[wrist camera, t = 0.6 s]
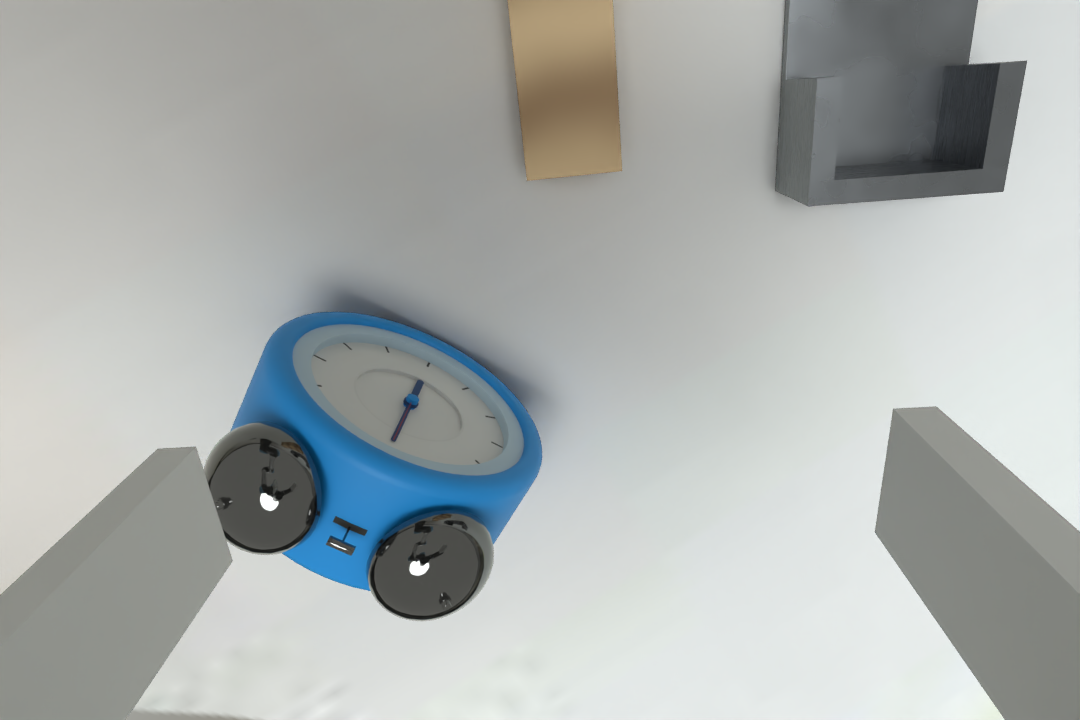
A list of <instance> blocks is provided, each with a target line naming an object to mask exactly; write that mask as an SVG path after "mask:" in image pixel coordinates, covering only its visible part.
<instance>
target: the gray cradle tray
mask: <svg viewBox="0 0 1080 720" xmlns="http://www.w3.org/2000/svg"><path fill="white" fill-rule="evenodd" d="M977 3H978V0H786V2H785V21H784V39H783V58H782V77H781V95H780V114H779V132H778V151H777V169H776V188H775V191H777V192H779V193H781V194H783V195H786V196H788V197H790V198H792V199H794V200H796V201H798V202H800V203H802V204H804V205H807V206H818V205H831V204H845V203H858V202H871V201H885V200H898V199H912V198H925V197H939V196H952V195H966V194H979V193H993V192H1003V191H1004V185H1005V180H1006V174H1007V169H1008V163H1009V158H1010V152H1011V147H1012V141H1013V136H1014V130H1015V125H1016V119H1017V114H1018V108H1019V103H1020V97H1021V91H1022V86H1023V80H1024V75H1025V69H1026V64H1027V61H1014V62H997V63H980V64H968V63H969V56H970V50H971V43H972V37H973V30H974V23H975V17H976V10H977Z"/></svg>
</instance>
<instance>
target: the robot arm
mask: <svg viewBox="0 0 1080 720" xmlns="http://www.w3.org/2000/svg"><path fill="white" fill-rule="evenodd" d="M875 533H876V535H877V536H878V538H879V539H880V540H881V542H882V543H883V545H884V546H885V548H886V549H887V550H888V552H889V553H890V555H891V556H892V558H893V559H894V561H895V562H896V563H897V565H898V566H899V568H900V569H901V571H902V572H903V574H904V575H905V576H906V578H907V579H908V581H909V582H910V584H911V585H912V586H913V588H914V589H915V591H916V592H917V594H918V595H919V597H920V598H921V599H922V601H923V602H924V604H925V605H926V607H927V608H928V610H929V611H930V612H931V614H932V615H933V617H934V618H935V620H936V621H937V623H938V624H939V625H940V627H941V628H942V630H943V631H944V633H945V634H946V635H947V637H948V638H949V640H950V641H951V643H952V644H953V646H954V647H955V648H956V650H957V651H958V653H959V654H960V656H961V657H962V659H963V660H964V661H965V663H966V664H967V666H968V667H969V669H970V670H971V671H972V673H973V674H974V676H975V677H976V679H977V680H978V682H979V683H980V684H981V686H982V687H983V689H984V690H985V692H986V693H987V695H988V696H989V697H990V699H991V700H992V702H993V703H994V705H995V706H996V708H997V709H998V710H999V712H1000V713H1001V715H1002V716H1003V718H1004V719H1005V720H1080V532H1079V531H1078V530H1077V529H1076V528H1075V527H1074V526H1073V525H1071V524H1070V523H1069V522H1068V521H1067V520H1066V519H1065V518H1063V517H1062V516H1061V515H1060V514H1059V513H1058V512H1057V511H1055V510H1054V509H1053V508H1052V507H1051V506H1050V505H1049V504H1047V503H1046V502H1045V501H1044V500H1043V499H1042V498H1041V497H1039V496H1038V495H1037V494H1036V493H1035V492H1034V491H1033V490H1031V489H1030V488H1029V487H1028V486H1027V485H1026V484H1025V483H1023V482H1022V481H1021V480H1020V479H1019V478H1018V477H1017V476H1015V475H1014V474H1013V473H1012V472H1011V471H1010V470H1009V469H1007V468H1006V467H1005V466H1004V465H1003V464H1002V463H1000V462H999V461H998V460H997V459H996V458H995V457H994V456H992V455H991V454H990V453H989V452H988V451H987V450H986V449H984V448H983V447H982V446H981V445H980V444H979V443H978V442H976V441H975V440H974V439H973V438H972V437H971V436H970V435H968V434H967V433H966V432H965V431H964V430H963V429H962V428H960V427H959V426H958V425H957V424H956V423H955V422H954V421H952V420H951V419H950V418H949V417H948V416H947V415H946V414H944V413H943V412H942V411H941V410H940V409H939V408H938V407H918V408H900V409H893V414H892V420H891V427H890V434H889V440H888V447H887V454H886V460H885V467H884V474H883V480H882V487H881V494H880V501H879V507H878V514H877V521H876V527H875ZM232 561H233V560H232V557H231V554H230V551H229V548H228V545H227V541H226V538H225V535H224V532H223V529H222V526H221V523H220V520H219V517H218V514H217V510H216V507H215V504H214V501H213V498H212V495H211V492H210V489H209V486H208V482H207V479H206V476H205V473H204V470H203V467H202V464H201V461H200V458H199V455H198V451H197V448H196V447H181V448H163V449H157V450H156V451H155V452H154V453H153V454H151V455H150V456H149V457H148V458H147V459H146V460H145V461H144V462H143V463H142V464H141V465H140V466H139V467H137V468H136V469H135V470H134V471H133V472H132V473H131V474H130V475H129V476H128V477H127V478H126V479H125V480H123V481H122V482H121V483H120V484H119V485H118V486H117V487H116V488H115V489H114V490H113V491H112V492H111V493H110V494H108V495H107V496H106V497H105V498H104V499H103V500H102V501H101V502H100V503H99V504H98V505H97V506H96V507H94V508H93V509H92V510H91V511H90V512H89V513H88V514H87V515H86V516H85V517H84V518H83V519H82V520H80V521H79V522H78V523H77V524H76V525H75V526H74V527H73V528H72V529H71V530H70V531H69V532H68V533H66V534H65V535H64V536H63V537H62V538H61V539H60V540H59V541H58V542H57V543H56V544H55V545H54V546H52V547H51V548H50V549H49V550H48V551H47V552H46V553H45V554H44V555H43V556H42V557H41V558H40V559H38V560H37V561H36V562H35V563H34V564H33V565H32V566H31V567H30V568H29V569H28V570H27V571H26V572H24V573H23V574H22V575H21V576H20V577H19V578H18V579H17V580H16V581H15V582H14V583H13V584H12V585H10V586H9V587H8V588H7V589H6V590H5V591H4V592H3V593H2V594H1V595H0V720H126V718H127V717H128V716H129V714H130V713H131V711H132V710H133V708H134V707H135V705H136V704H137V702H138V701H139V699H140V698H141V696H142V695H143V693H144V692H145V690H146V689H147V687H148V686H149V685H150V683H151V682H152V680H153V679H154V677H155V676H156V674H157V673H158V671H159V670H160V668H161V667H162V665H163V664H164V662H165V661H166V659H167V658H168V656H169V655H170V653H171V652H172V650H173V649H174V647H175V646H176V644H177V643H178V641H179V640H180V638H181V637H182V635H183V634H184V632H185V631H186V630H187V628H188V627H189V625H190V624H191V622H192V621H193V619H194V618H195V616H196V615H197V613H198V612H199V610H200V609H201V607H202V606H203V604H204V603H205V601H206V600H207V598H208V597H209V595H210V594H211V592H212V591H213V589H214V588H215V586H216V585H217V583H218V582H219V580H220V579H221V577H222V576H223V575H224V573H225V572H226V570H227V569H228V567H229V566H230V564H231V563H232Z"/></svg>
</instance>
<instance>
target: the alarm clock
mask: <svg viewBox="0 0 1080 720" xmlns="http://www.w3.org/2000/svg"><path fill="white" fill-rule="evenodd" d="M541 462H542V447H541V441H540V437H539V434H538V431H537V429H536V426H535V424H534V422H533V420H532V419H531V417H530V415H529V414H528V412H527V411H526V409H525V408H524V406H523V405H522V404H521V403H520V401H519V400H518V399H517V398H516V396H515V395H514V394H513V393H512V392H511V391H510V390H509V389H508V388H507V387H506V386H505V385H504V384H503V383H502V382H501V381H500V380H499V379H498V378H497V377H495V376H494V375H493V374H492V373H491V372H489V371H488V370H487V369H485V368H484V367H483V366H481V365H480V364H479V363H477V362H476V361H474V360H473V359H472V358H470V357H469V356H467V355H465V354H464V353H462V352H461V351H459V350H457V349H455V348H454V347H452V346H450V345H448V344H447V343H445V342H443V341H441V340H439V339H437V338H435V337H433V336H431V335H428V334H426V333H424V332H421V331H419V330H416V329H414V328H411V327H409V326H406V325H403V324H400V323H397V322H394V321H390V320H387V319H383V318H379V317H375V316H370V315H365V314H358V313H349V312H320V313H312V314H308V315H303V316H301V317H298V318H295V319H293V320H291V321H289V322H287V323H285V324H284V325H282V326H281V327H280V328H278V329H277V330H276V331H275V332H274V333H273V335H272V336H271V337H270V339H269V341H268V342H267V344H266V346H265V349H264V351H263V353H262V356H261V358H260V361H259V363H258V366H257V368H256V370H255V373H254V375H253V378H252V380H251V382H250V385H249V387H248V390H247V392H246V395H245V397H244V399H243V402H242V404H241V407H240V409H239V412H238V414H237V416H236V419H235V421H234V424H233V426H232V428H231V431H230V432H229V433H228V434H226V435H225V436H224V437H223V438H221V439H220V440H219V442H218V443H217V444H216V445H215V446H214V448H213V449H212V451H211V453H210V454H209V456H208V458H207V460H206V463H205V466H204V469H203V470H204V473H205V476H206V479H207V482H208V486H209V489H210V492H211V495H212V498H213V501H214V504H215V507H216V510H217V514H218V517H219V520H220V523H221V526H222V529H223V532H224V535H225V538H226V541H227V542H229V543H230V544H231V545H233V546H235V547H236V548H238V549H240V550H243V551H246V552H249V553H252V554H258V555H274V554H279V553H282V554H284V555H285V556H287V557H288V558H290V559H291V560H293V561H294V562H296V563H298V564H300V565H301V566H303V567H305V568H307V569H308V570H310V571H312V572H315V573H317V574H319V575H321V576H323V577H325V578H328V579H331V580H333V581H336V582H338V583H342V584H345V585H348V586H351V587H355V588H359V589H364V590H368V591H371V593H372V594H373V596H374V598H375V600H376V601H377V602H378V603H379V604H380V605H381V606H382V607H383V608H384V609H385V610H386V611H388V612H390V613H391V614H393V615H395V616H397V617H399V618H402V619H406V620H412V621H431V620H436V619H440V618H443V617H446V616H448V615H451V614H453V613H455V612H457V611H459V610H460V609H462V608H464V607H465V606H466V605H468V604H469V603H470V602H471V601H472V600H473V599H474V598H475V597H476V596H477V595H478V594H479V592H480V591H481V590H482V588H483V587H484V586H485V584H486V582H487V580H488V578H489V576H490V573H491V570H492V566H493V561H494V546H493V544H494V543H495V541H496V540H497V538H498V536H499V535H500V533H501V532H502V530H503V529H504V527H505V525H506V524H507V522H508V521H509V519H510V518H511V516H512V515H513V513H514V511H515V510H516V508H517V507H518V505H519V504H520V502H521V500H522V499H523V497H524V496H525V494H526V493H527V491H528V490H529V488H530V486H531V485H532V483H533V482H534V480H535V478H536V477H537V475H538V472H539V469H540V466H541Z"/></svg>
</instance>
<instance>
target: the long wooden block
mask: <svg viewBox="0 0 1080 720" xmlns="http://www.w3.org/2000/svg"><path fill="white" fill-rule="evenodd" d="M507 1H508V10H509V19H510V29H511V38H512V47H513V56H514V66H515V75H516V84H517V93H518V103H519V112H520V121H521V130H522V140H523V149H524V158H525V167H526V177H527V181H530V180H540V179H550V178H559V177H569V176H579V175H588V174H598V173H608V172H617V171H622V160H621V142H620V124H619V106H618V88H617V70H616V51H615V33H614V15H613V0H507Z"/></svg>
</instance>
